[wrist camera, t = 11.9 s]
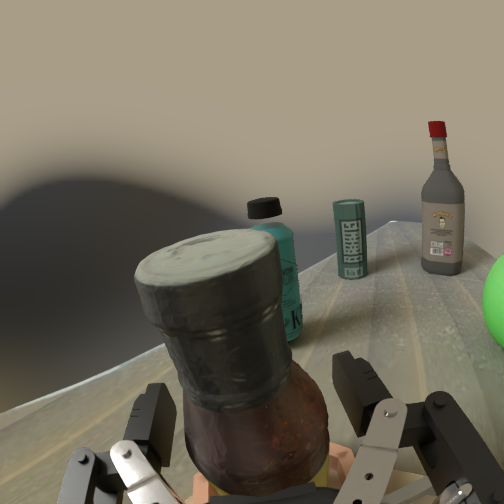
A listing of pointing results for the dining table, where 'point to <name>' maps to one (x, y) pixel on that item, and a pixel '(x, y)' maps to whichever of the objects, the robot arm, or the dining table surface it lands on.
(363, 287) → the dining table surface
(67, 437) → the dining table surface
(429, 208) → the liquor
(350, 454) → the collar terracotta
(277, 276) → the sauce bottle
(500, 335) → the green horned round ornament
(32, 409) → the dining table surface
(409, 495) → the collar grey
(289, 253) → the beverage bottle
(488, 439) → the dining table surface
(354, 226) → the can
